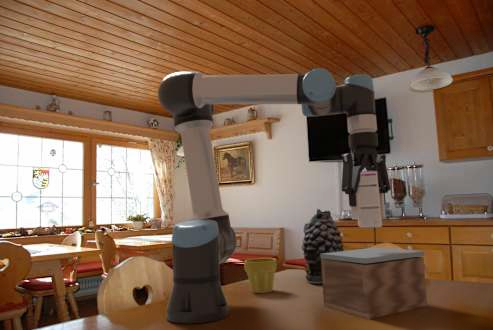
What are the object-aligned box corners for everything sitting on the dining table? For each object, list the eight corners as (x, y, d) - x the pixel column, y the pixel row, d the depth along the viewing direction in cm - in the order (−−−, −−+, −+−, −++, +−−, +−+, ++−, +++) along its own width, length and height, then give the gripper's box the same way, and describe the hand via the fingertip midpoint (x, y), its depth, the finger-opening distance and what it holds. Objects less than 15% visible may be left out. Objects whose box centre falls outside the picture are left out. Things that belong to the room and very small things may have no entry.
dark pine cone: (306, 275, 155) (303, 209, 157) (347, 275, 151) (342, 208, 154) (299, 285, 135) (295, 210, 137) (346, 286, 131) (341, 208, 134)
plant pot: (240, 294, 125) (239, 261, 126) (251, 287, 135) (250, 257, 136) (273, 295, 122) (271, 261, 123) (281, 288, 131) (280, 257, 132)
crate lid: (365, 263, 93) (364, 258, 93) (320, 258, 107) (320, 253, 107) (424, 255, 103) (424, 251, 103) (376, 251, 117) (376, 247, 117)
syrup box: (382, 227, 102) (378, 170, 104) (358, 228, 104) (354, 171, 105) (380, 226, 108) (376, 172, 110) (357, 226, 109) (353, 173, 111)
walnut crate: (369, 319, 92) (365, 265, 93) (323, 305, 106) (321, 259, 107) (427, 306, 102) (423, 257, 103) (379, 295, 115) (376, 252, 117)
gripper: (379, 137, 117) (386, 216, 114) (323, 133, 107) (328, 220, 104) (400, 132, 110) (407, 216, 108) (342, 128, 100) (348, 220, 98)
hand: (368, 218), depth 106 cm, fingers closed on syrup box, 8 cm apart
